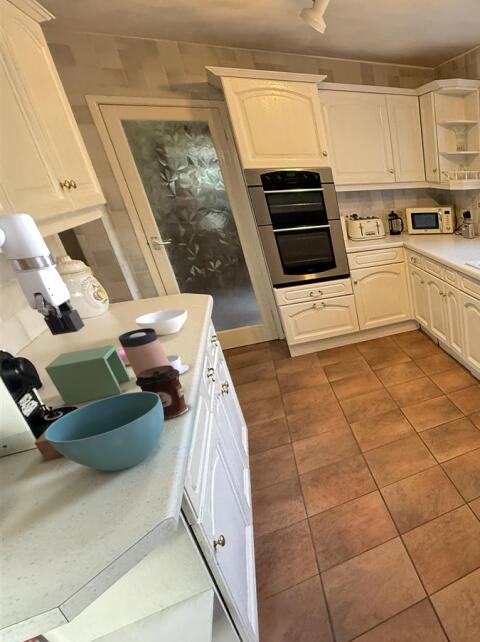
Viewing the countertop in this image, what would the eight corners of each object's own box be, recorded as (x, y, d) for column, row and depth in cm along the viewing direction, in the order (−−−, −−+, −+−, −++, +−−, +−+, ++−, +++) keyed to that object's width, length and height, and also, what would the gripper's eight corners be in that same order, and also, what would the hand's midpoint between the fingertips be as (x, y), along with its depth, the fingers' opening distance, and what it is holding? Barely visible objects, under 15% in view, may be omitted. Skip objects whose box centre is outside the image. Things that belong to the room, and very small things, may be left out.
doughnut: (150, 362, 135) (145, 351, 133) (108, 370, 130) (102, 359, 128) (159, 350, 143) (154, 340, 142) (120, 357, 139) (115, 346, 137)
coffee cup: (175, 422, 102) (155, 379, 97) (144, 423, 102) (122, 379, 97) (200, 403, 110) (183, 362, 105) (171, 404, 110) (153, 363, 105)
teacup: (181, 363, 133) (176, 350, 131) (195, 370, 129) (190, 357, 127) (144, 376, 126) (138, 363, 124) (158, 384, 121) (152, 370, 119)
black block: (52, 335, 107) (43, 318, 105) (61, 329, 111) (52, 312, 109) (77, 331, 109) (68, 314, 107) (84, 325, 113) (76, 309, 111)
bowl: (154, 327, 165) (147, 311, 162) (198, 322, 169) (193, 306, 166) (133, 342, 151) (126, 325, 148) (182, 336, 155) (176, 320, 152)
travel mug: (141, 401, 112) (110, 337, 104) (169, 387, 119) (142, 326, 110) (160, 405, 110) (130, 340, 102) (187, 391, 116) (161, 329, 108)
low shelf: (45, 460, 90) (34, 443, 88) (62, 438, 97) (52, 422, 95) (114, 443, 95) (104, 426, 93) (125, 423, 102) (117, 407, 100)
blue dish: (91, 500, 78) (61, 452, 74) (60, 470, 87) (31, 424, 82) (194, 447, 93) (174, 403, 88) (158, 425, 101) (139, 384, 96)
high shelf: (66, 405, 111) (44, 368, 106) (80, 389, 119) (60, 353, 114) (121, 393, 116) (103, 357, 111) (131, 378, 124) (114, 344, 119)
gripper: (29, 259, 107) (62, 320, 115) (-8, 272, 93) (33, 341, 101) (66, 255, 110) (96, 315, 118) (36, 268, 97) (72, 335, 104)
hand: (67, 327), depth 109 cm, fingers closed on black block, 5 cm apart
